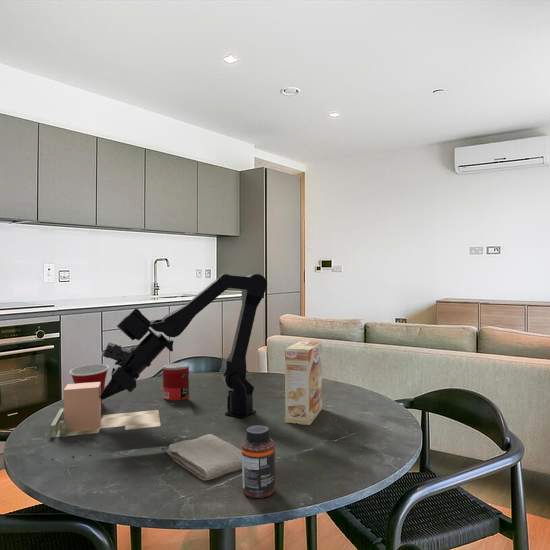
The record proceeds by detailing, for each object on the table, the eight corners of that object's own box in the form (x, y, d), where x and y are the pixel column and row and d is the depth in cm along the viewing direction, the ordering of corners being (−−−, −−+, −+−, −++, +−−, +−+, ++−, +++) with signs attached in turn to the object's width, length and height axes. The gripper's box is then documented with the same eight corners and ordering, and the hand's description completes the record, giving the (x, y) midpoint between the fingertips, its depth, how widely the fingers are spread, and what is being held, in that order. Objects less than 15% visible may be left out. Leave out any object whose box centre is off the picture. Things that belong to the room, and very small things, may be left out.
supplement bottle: (257, 480, 85) (256, 420, 85) (282, 490, 81) (281, 427, 81) (235, 492, 80) (234, 429, 80) (260, 503, 76) (259, 437, 76)
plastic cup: (61, 412, 128) (60, 370, 128) (85, 402, 138) (85, 363, 138) (94, 415, 125) (94, 372, 125) (117, 404, 136) (116, 364, 136)
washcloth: (209, 442, 106) (209, 429, 106) (256, 467, 92) (256, 452, 92) (162, 456, 98) (162, 442, 98) (206, 485, 84) (206, 469, 84)
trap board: (158, 414, 126) (158, 399, 126) (160, 430, 112) (160, 414, 112) (60, 423, 118) (60, 407, 118) (50, 442, 105) (50, 424, 105)
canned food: (186, 404, 135) (186, 367, 135) (160, 404, 135) (159, 367, 135) (191, 397, 143) (191, 362, 143) (166, 397, 143) (166, 362, 143)
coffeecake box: (310, 425, 115) (309, 349, 115) (284, 422, 118) (283, 348, 117) (323, 408, 129) (322, 341, 129) (299, 406, 132) (298, 340, 132)
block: (101, 419, 117) (100, 381, 117) (99, 427, 112) (98, 387, 112) (67, 423, 115) (67, 384, 115) (64, 430, 109) (63, 389, 109)
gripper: (123, 327, 125) (81, 370, 122) (121, 336, 107) (71, 386, 104) (153, 354, 128) (112, 396, 124) (155, 367, 110) (107, 416, 106)
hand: (101, 398), depth 115 cm, fingers closed, pressing on block
